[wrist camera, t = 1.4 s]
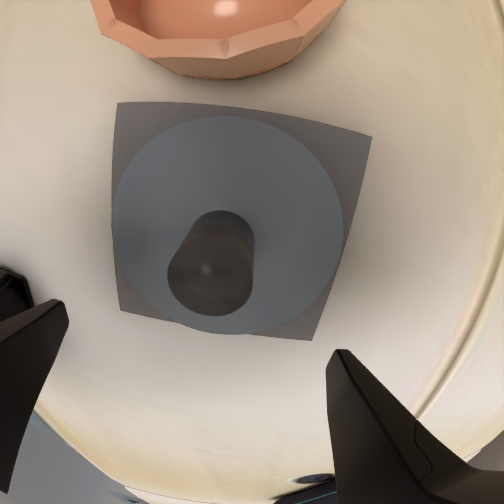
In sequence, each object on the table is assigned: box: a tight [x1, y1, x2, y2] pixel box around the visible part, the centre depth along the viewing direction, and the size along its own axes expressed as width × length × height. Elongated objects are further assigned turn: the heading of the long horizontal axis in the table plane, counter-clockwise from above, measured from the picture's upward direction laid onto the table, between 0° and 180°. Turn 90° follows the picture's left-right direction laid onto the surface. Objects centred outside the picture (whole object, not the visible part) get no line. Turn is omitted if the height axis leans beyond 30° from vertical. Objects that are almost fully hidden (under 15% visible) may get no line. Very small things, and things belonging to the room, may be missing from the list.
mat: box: [112, 102, 372, 341], centre depth 16 cm, size 14×14×1 cm
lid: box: [111, 116, 344, 334], centre depth 13 cm, size 13×13×5 cm
